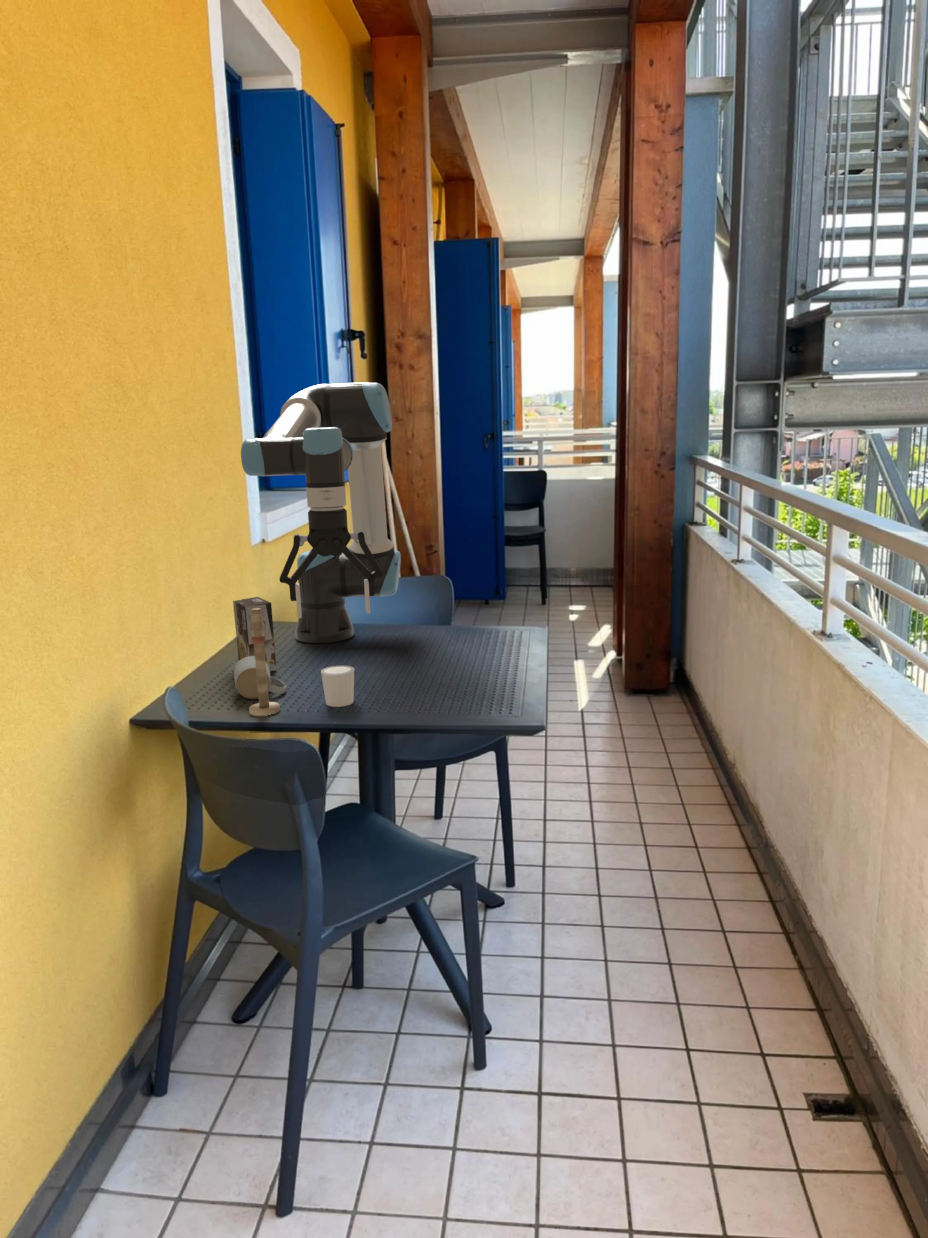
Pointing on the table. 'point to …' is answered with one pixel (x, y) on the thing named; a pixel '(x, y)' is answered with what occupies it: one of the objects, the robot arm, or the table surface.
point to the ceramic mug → (253, 679)
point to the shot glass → (338, 685)
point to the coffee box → (245, 630)
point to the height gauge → (261, 669)
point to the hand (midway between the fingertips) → (334, 614)
